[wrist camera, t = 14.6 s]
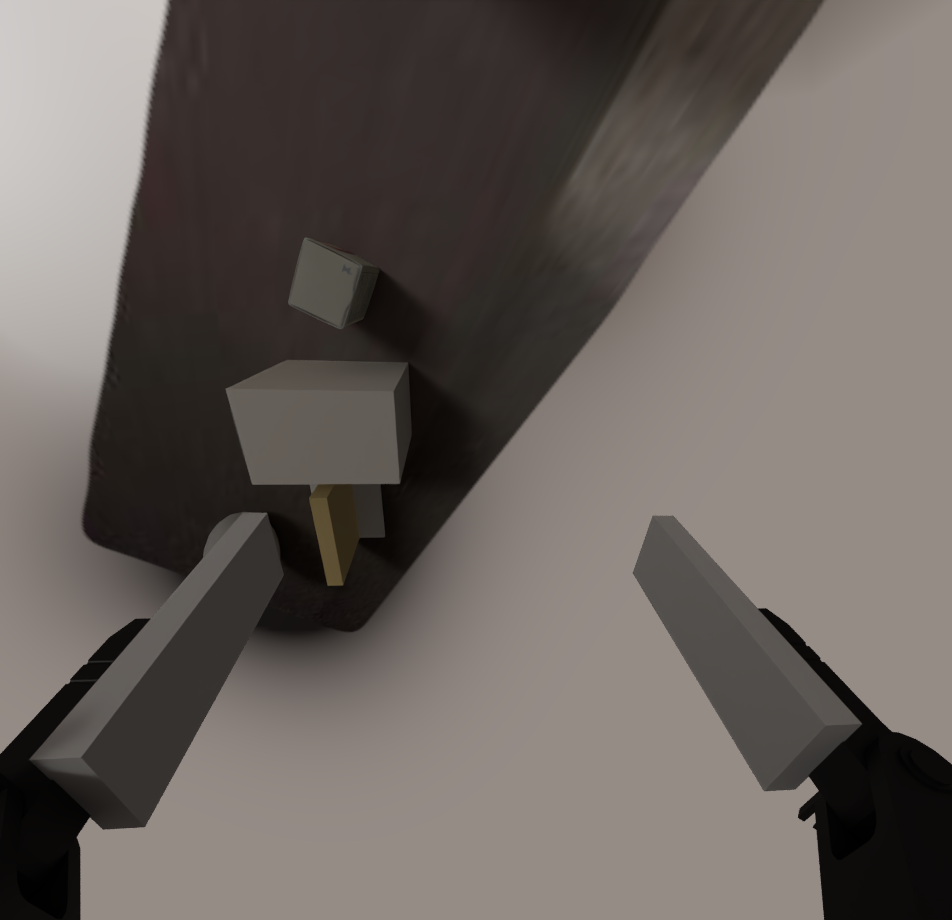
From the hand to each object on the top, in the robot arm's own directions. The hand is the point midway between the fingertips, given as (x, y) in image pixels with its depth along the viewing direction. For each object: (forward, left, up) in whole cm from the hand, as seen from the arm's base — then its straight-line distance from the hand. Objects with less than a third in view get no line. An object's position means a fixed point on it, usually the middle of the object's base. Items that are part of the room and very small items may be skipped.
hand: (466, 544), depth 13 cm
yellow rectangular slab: (+16, -13, -27) cm, 34 cm away
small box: (-8, -10, -28) cm, 31 cm away
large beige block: (+3, -11, -28) cm, 30 cm away
